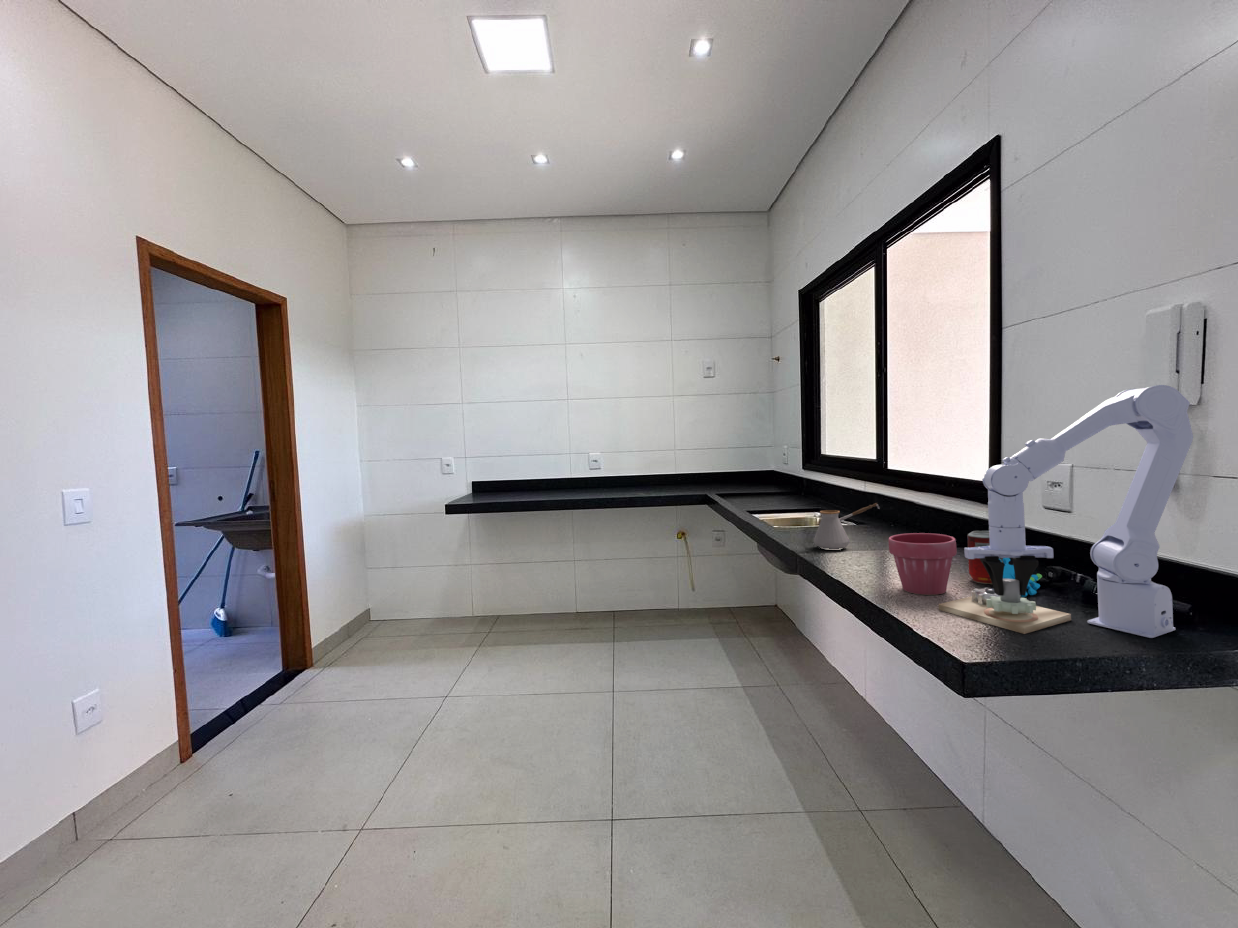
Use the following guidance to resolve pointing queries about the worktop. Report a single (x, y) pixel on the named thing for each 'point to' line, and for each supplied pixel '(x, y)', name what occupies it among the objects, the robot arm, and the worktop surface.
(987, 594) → the sun gear
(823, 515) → the coffee pot
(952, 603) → the carrier plate
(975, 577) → the soda can
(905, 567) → the plant pot
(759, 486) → the worktop surface
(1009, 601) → the gear
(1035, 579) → the blue piece
